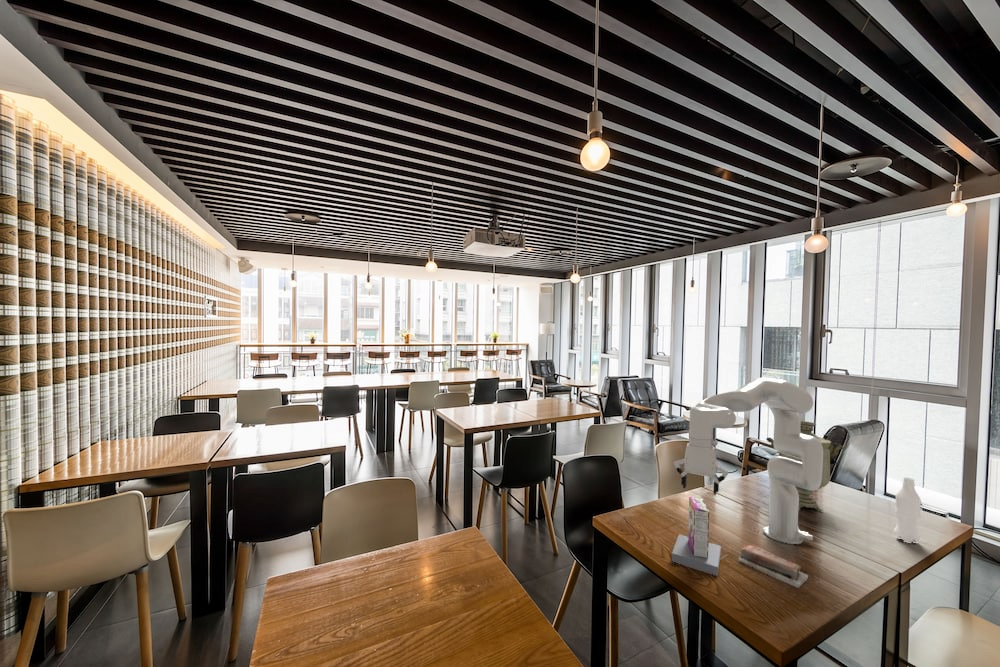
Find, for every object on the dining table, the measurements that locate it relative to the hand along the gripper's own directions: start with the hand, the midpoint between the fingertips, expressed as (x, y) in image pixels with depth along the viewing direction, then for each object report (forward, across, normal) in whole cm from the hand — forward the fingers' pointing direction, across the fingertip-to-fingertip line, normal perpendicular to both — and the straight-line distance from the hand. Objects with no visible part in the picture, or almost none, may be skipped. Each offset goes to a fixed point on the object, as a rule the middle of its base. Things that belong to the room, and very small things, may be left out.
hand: (699, 490), depth 139 cm
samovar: (+25, -37, -78) cm, 89 cm away
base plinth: (+24, 0, 0) cm, 24 cm away
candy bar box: (+21, 0, 0) cm, 21 cm away
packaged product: (+25, -22, -8) cm, 34 cm away
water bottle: (+26, -69, -64) cm, 98 cm away
